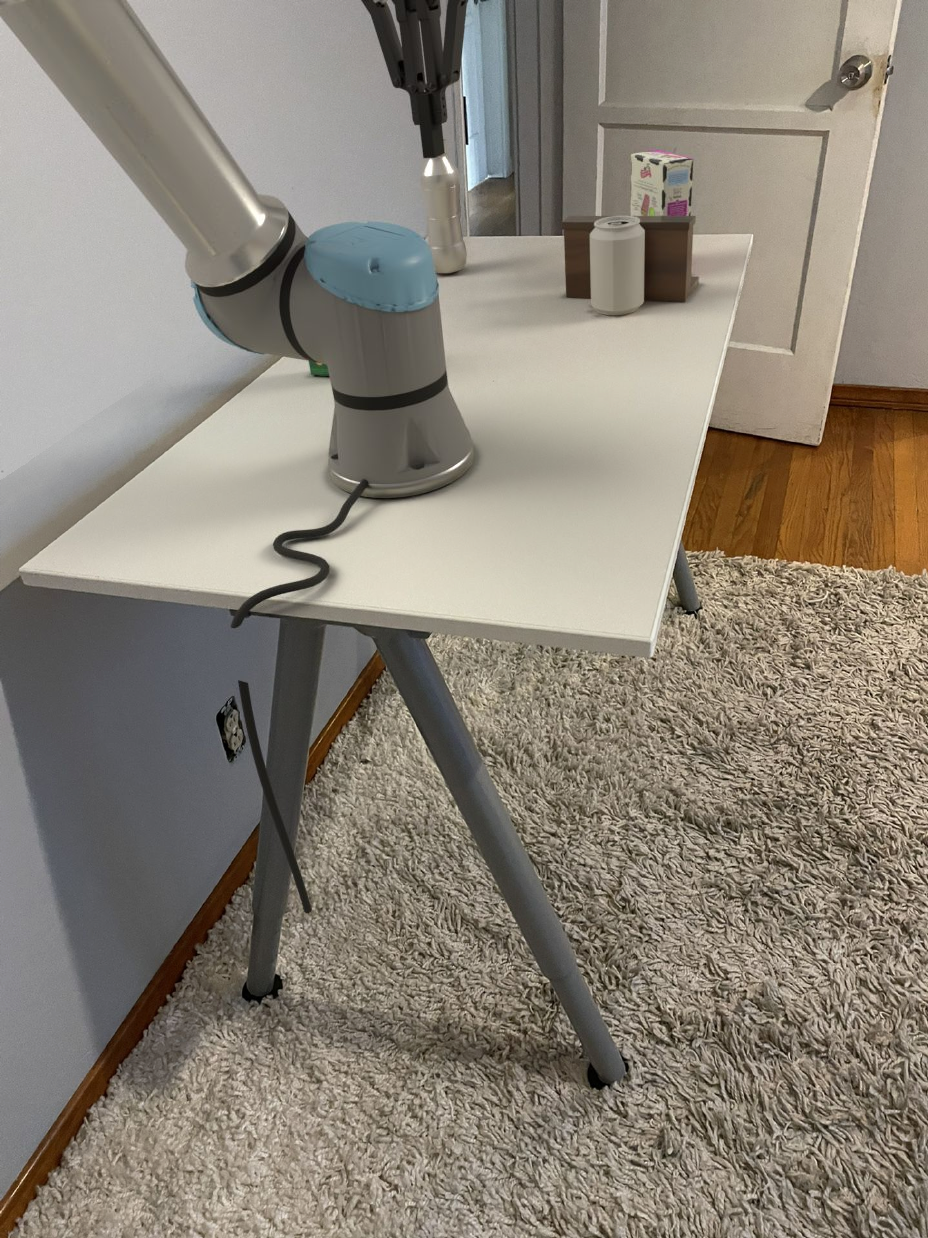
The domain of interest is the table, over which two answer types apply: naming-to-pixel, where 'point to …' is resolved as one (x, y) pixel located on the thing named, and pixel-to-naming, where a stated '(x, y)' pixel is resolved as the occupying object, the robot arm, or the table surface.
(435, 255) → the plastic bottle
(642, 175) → the candy bar box
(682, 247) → the wooden box
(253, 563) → the table surface
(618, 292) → the can
